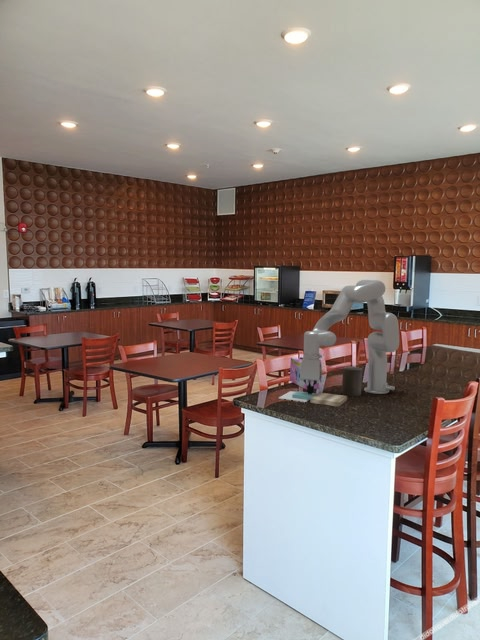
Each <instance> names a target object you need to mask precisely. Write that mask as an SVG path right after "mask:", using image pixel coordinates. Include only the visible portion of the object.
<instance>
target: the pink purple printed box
mask: <svg viewBox="0 0 480 640" xmlns="http://www.w3.org/2000/svg"><path fill="white" fill-rule="evenodd" d="M303 358H304V356H303V357H301V356H300V357H299V358H297V357H295V358H293V357H290V366H289V368H290V369H289V381H290V382H291V383H293V384H295V385H297V386H299V387H301V388H303V389H305V390H307V385H306V383H305V382H304V381H301V380H300V369H301V363H302V359H303ZM311 381H312V380H310V384H311ZM319 388H320V383H316V384H315V385H314V390H318V389H319Z"/></svg>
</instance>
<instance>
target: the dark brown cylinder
mask: <svg viewBox="0 0 480 640" xmlns="http://www.w3.org/2000/svg"><path fill="white" fill-rule="evenodd" d="M362 378H363V367H358V366H353V365H351V366H343V368H342V381H341V394H342V395H343V396H347V397H360V396H361V395H362V380H363V379H362Z"/></svg>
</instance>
